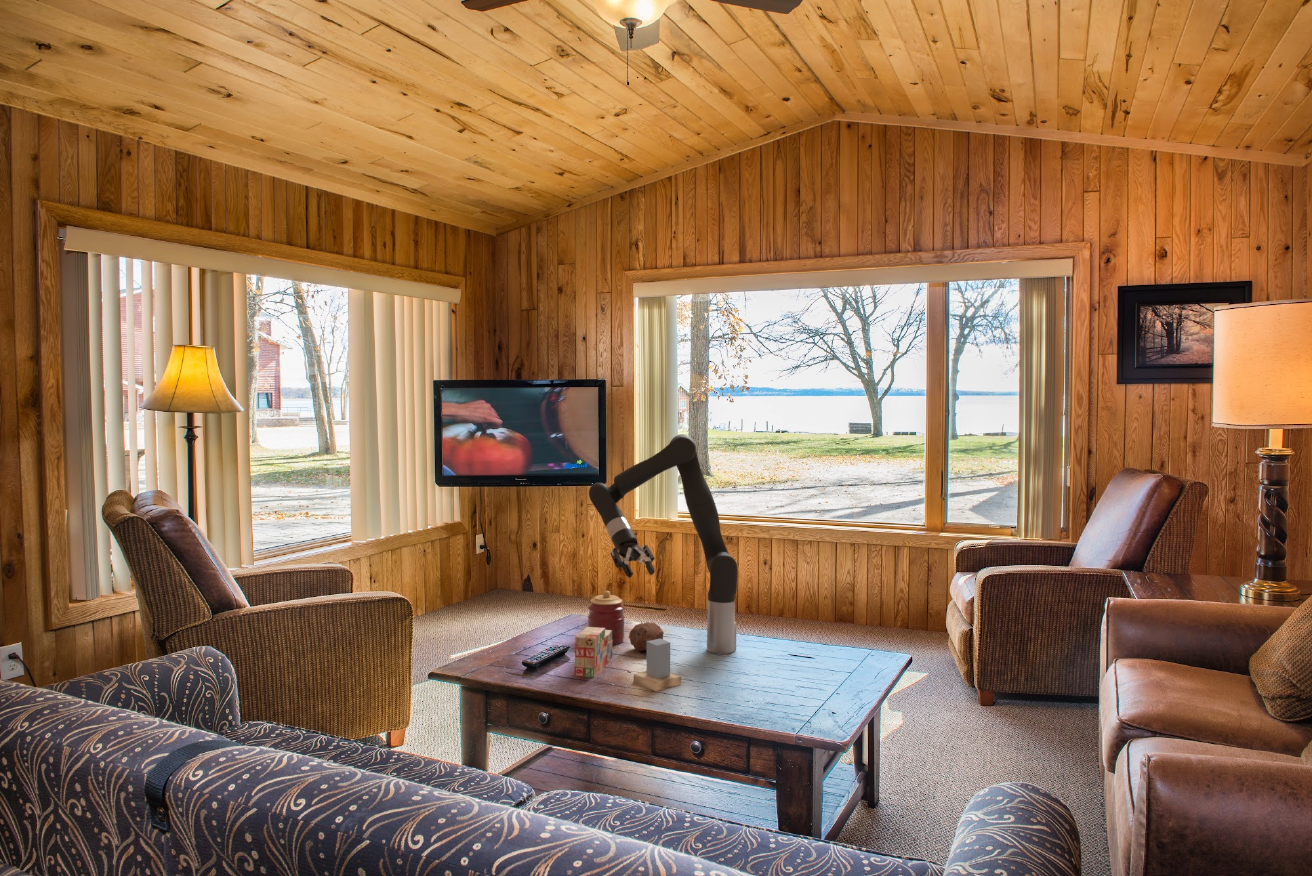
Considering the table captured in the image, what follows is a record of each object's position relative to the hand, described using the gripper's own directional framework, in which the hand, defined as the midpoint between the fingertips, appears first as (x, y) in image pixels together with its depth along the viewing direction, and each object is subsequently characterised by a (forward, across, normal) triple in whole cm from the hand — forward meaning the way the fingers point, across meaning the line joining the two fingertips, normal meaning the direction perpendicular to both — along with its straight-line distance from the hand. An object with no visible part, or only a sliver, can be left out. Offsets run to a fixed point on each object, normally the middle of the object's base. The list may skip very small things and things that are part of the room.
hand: (641, 574), depth 264 cm
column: (+31, -7, +6) cm, 33 cm away
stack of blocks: (+16, -13, +25) cm, 33 cm away
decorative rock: (+12, +11, +28) cm, 33 cm away
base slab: (+33, -7, +8) cm, 35 cm away
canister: (0, +7, +41) cm, 42 cm away
